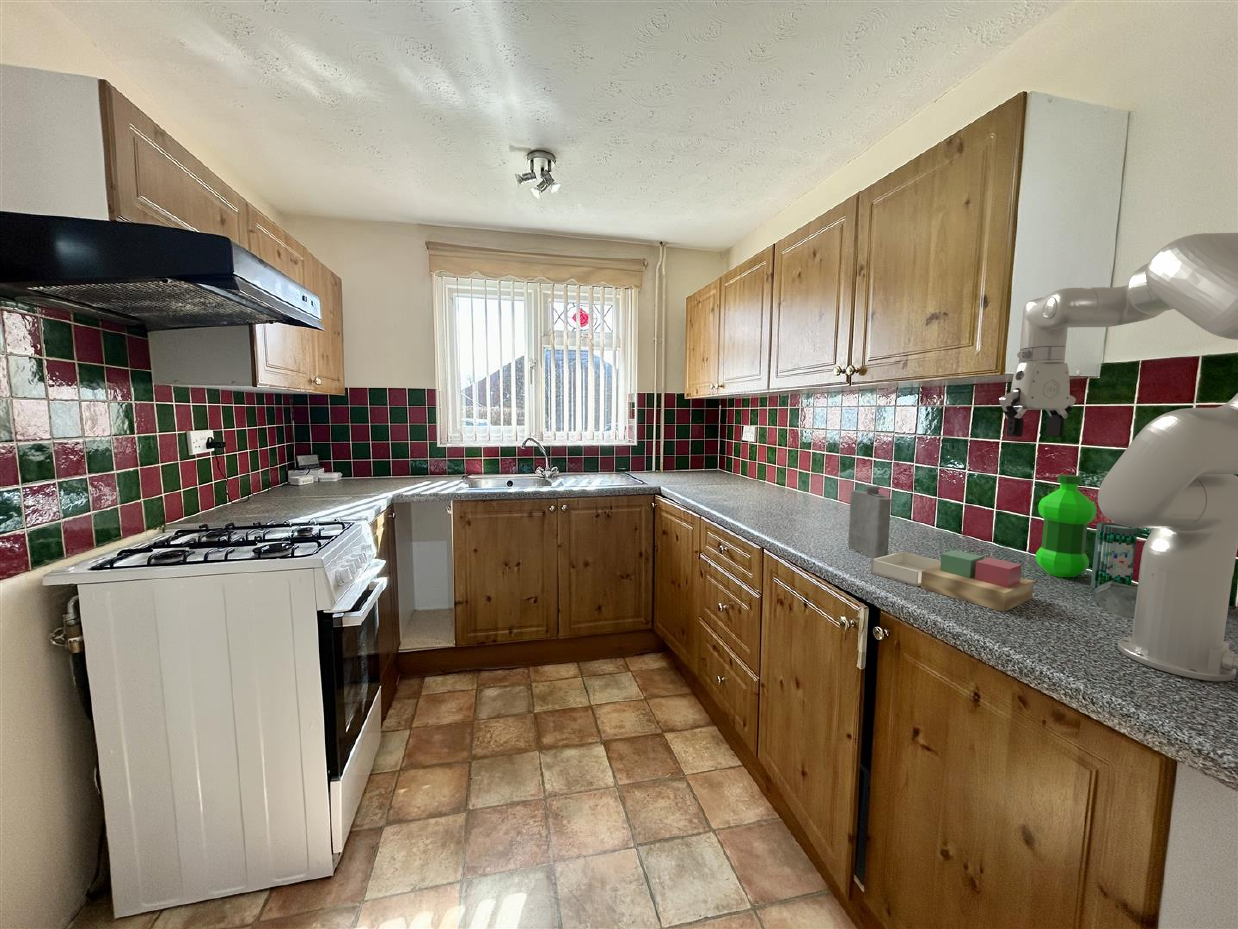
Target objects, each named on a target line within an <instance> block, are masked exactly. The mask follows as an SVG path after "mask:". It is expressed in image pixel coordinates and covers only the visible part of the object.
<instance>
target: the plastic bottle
mask: <svg viewBox="0 0 1238 929" xmlns="http://www.w3.org/2000/svg"><path fill="white" fill-rule="evenodd" d="M1082 480H1083V476H1081V475H1076V474H1075V475H1074V474H1058V475H1057V480H1056V481H1057V483H1058V484H1059V489H1057V490H1055V491H1052V492H1051V493H1049V494H1047V495H1046V496H1044V497H1042V498H1041V499H1040V500H1039V503H1038V505H1037V507H1038V508H1037V509H1038V514H1039V515H1040V516H1041V517H1042V518H1043V526H1042V527H1043V529H1042V538H1041V540H1042V541H1041V546H1040V547H1039V548H1038V550H1037V551H1036V553H1035V561H1036V563H1037V564H1038V565H1039V567H1040V568H1042V570H1044V571H1045V573H1046V572H1047V573H1046V574H1048V575H1050V576H1053V577H1057V578H1063V577H1073V578H1075V577H1076V576H1078V575H1081V574H1082V573H1085V571H1087V569H1088V568H1089V566H1090V559H1089V558H1088V557H1089V556H1088V555H1087V554H1086V543H1087V532H1088V524H1089V523H1091V522H1093V521H1094V520H1095V518H1096V516H1097V512H1098V511H1097V506H1096V504H1095V502H1093V501H1092V500H1091V499H1090V498H1089V497H1087V496H1086V495H1085V494H1084V493H1082V492H1080V491H1079V485H1082Z"/></svg>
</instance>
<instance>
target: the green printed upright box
mask: <svg viewBox="0 0 1238 929" xmlns="http://www.w3.org/2000/svg"><path fill="white" fill-rule="evenodd" d="M1138 531H1139V528H1136V527H1128V526H1123V525H1120V524H1117V523H1115V522H1097V523H1096V531H1095V532H1096V533H1095V540H1094V550H1093V561H1092V568H1091V570H1092V571H1091V580H1090V587H1091V588H1092V589H1093V588H1094V589H1093V590H1095V589H1096V588H1098V587H1099V586H1100V585H1102V584H1104V583H1107V582H1109V581H1112V582H1115V583H1120V584H1125V585H1129V586H1132V583H1133V582H1132V581H1133V573H1134V565H1135V557H1136V547H1137V541H1138V540H1137V538H1138Z"/></svg>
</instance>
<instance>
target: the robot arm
mask: <svg viewBox="0 0 1238 929" xmlns="http://www.w3.org/2000/svg"><path fill="white" fill-rule="evenodd" d="M1022 310H1023V311H1022V319H1021V320H1022V322H1021V332H1020V343H1019V352H1017V354H1016V356H1017V358H1018V364H1016V367H1015V370H1014V373H1013V377H1012V382H1011V387H1010V392H1007V394H1005V395H1003V396H1001V397H999V398H998V401H999V404H1000V406H1001V411H1002V412H1003V413H1004V417H1005V419H1007V424H1006V425H1007V426H1006V436H1007V437H1008V438H1009V437H1011V438H1022V436H1023V433H1024V431H1023V430H1024V421H1025V420H1024V418H1022V417H1023V415H1024V414H1025V413H1026V412H1027V410H1033V411H1037V410H1039V411H1041V410H1042V411H1043V410H1045V411H1046V413H1047V414H1048V416H1049V418H1047V421H1046V430H1045V435H1046V437H1052V438H1053V437H1054V438H1055V437H1056V438H1061V437H1063V435H1064V430H1065V429H1064V428H1065V419H1067V418H1068V415H1069V413H1070V412H1072V410H1073V407H1074V405H1075V403H1076V402H1077V398H1076V397H1075V396H1073V395H1071V394H1070V392H1071V391H1070V390H1071V389H1070V386H1071V384H1070V382H1071V380H1070V371H1069V366H1068V365H1069V364H1068V363H1067V362H1065V360H1066V349H1067V340H1068V329H1069V328H1111V327H1117V326H1123V325H1129V324H1133V323H1138V322H1142V321H1143V322H1144V321H1148V320H1151V319H1154V318H1156V317H1158V316H1160V315H1161V314H1163V313H1165V312H1166V311H1171V310H1175V311H1176V312H1178V313H1180V315H1182V316H1184V317H1186V318H1187V319H1188V320H1189V321H1191V322H1192V323H1194V324H1195V325H1196V326H1197V327H1199V328H1201V329H1202V330H1204V331H1206V332H1208V333H1210V334H1212V335H1214V336H1216V337H1217V336H1218V337H1220V338H1223V339H1228V340H1235V341H1238V232H1213V233H1212V232H1210V233H1209V232H1207V233H1205V232H1203V233H1195V234H1190V235H1186V236H1182V237H1180V238H1177V239H1175V240H1173V241H1171V242H1169V243H1167V244H1166V245H1164V246H1163V247H1162V248H1161V249H1159V250H1158V251H1157V252H1156V253H1155V254H1154V255H1153V256H1152V257H1151V259H1150V261H1149V262H1148V263H1145V264H1144V265H1141V266H1140V267H1139V268H1137V270H1135V271H1133V273H1132V275H1131V276H1130V278H1129V280H1128V282H1127V285H1123V286H1117V287H1115V286H1114V287H1111V286H1108V287H1105V286H1104V287H1103V286H1102V287H1101V286H1099V287H1098V286H1096V287H1088V286H1087V287H1065V288H1061V289H1058V290H1055V291H1053V292H1051V293H1049V294H1047V295H1045V296H1044V297H1038V298H1034V299H1032V300H1031V299H1030V300H1029V301H1028V302H1026V303H1025V305H1024V306H1023V309H1022ZM1237 475H1238V392H1237V393H1236V394H1235V395H1234V396H1233V397H1232V399H1230V400H1228V401H1227V402H1226V403H1225V404H1223V405H1221V406H1217V407H1191V408H1189V407H1187V408H1179V409H1175V410H1172V411H1168V412H1165V413H1163V414H1161V415H1158V416H1157V417H1156V418H1154V419H1153V420H1151V421H1150V422H1149V423H1147V424H1146V425H1145V426H1144V427H1143V428H1142V429H1141V430H1140V431H1139V433H1138V434H1136V436H1135V437H1134V439H1133V440H1132V441H1131V443H1130V444H1129V445H1128V447H1127V448H1126V449H1125V451H1124V452H1123V453H1122V455H1120V457H1118V459H1117V461H1116V462H1115V463H1114V465H1113V466H1112V467H1111V469H1110V470H1109V471H1108V473H1107V474H1106V476H1105V477H1104V479H1103V480H1102V481H1101V483H1100V486H1099V489H1098V492H1097V504H1098V507H1099V510H1100V511H1101V513H1102V514H1103V516H1105V517H1106V518H1107V519H1108V520H1110V522H1112V523H1117V524H1120V525H1123V526H1128V527H1136V528H1138V529H1152V530H1151V532H1150V533H1149V535H1148V536H1147V538H1146V540H1145V542H1144V544H1143V547H1142V551H1141V558H1140V565H1139V573H1138V583H1137V587H1138V589H1137V598H1136V607H1135V615H1134V618H1133V624H1132V625H1133V627H1132V634H1131V636H1127V637H1122V638H1120V639H1118V640H1117V646H1116V647H1117V649H1118V650H1119V652H1121V653H1122V654H1123V655H1125V656H1126V657H1128V658H1130V659H1132V660H1133V661H1136V662H1137V663H1139V664H1143V665H1145V666H1148V667H1150V668H1153V669H1156V670H1159V671H1161V672H1166V673H1168V674H1173V675H1177V676H1181V677H1183V678H1184V677H1185V678H1189V679H1190V678H1191V679H1195V680H1201V681H1209V682H1229V681H1233V680H1234V679H1236V677H1237V671H1238V654H1237V653H1235V651H1232V650H1230V645H1231V643H1230V642H1228V641H1224V640H1225V634H1226V627H1227V626H1226V625H1227V619H1228V612H1229V606H1230V597H1231V590H1232V584H1233V583H1232V582H1233V577H1234V572H1235V567H1236V566H1235V565H1236V558H1237V552H1238V476H1237Z"/></svg>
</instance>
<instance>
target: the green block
mask: <svg viewBox="0 0 1238 929" xmlns="http://www.w3.org/2000/svg"><path fill="white" fill-rule="evenodd" d="M983 559H985V557H984V556H983V555H978V554H975V553H969V552H965V551H961V550H956V549H953V550H950V551H946V552H942V553H941V554H940V560H941V566H940V571H943V572H947V573H951V574H955V575H959V576H963V577H967V578H972V577H974V576H975V571H976V562H977V561H980V560H983Z"/></svg>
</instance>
